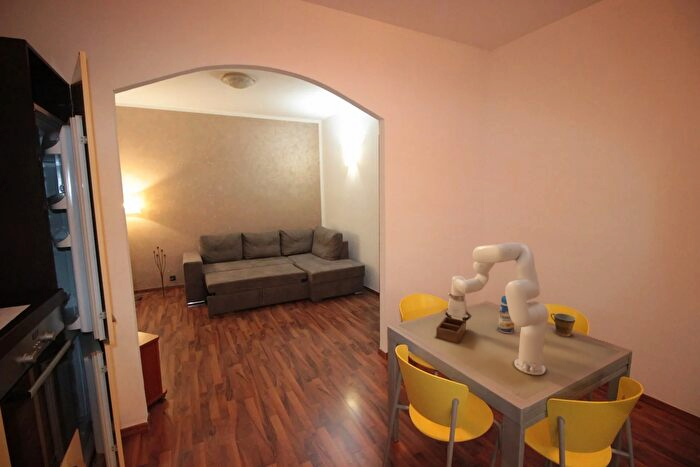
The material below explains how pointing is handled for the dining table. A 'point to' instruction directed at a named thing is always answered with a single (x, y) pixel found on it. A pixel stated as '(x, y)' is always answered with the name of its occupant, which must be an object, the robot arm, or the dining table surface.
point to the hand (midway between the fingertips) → (456, 325)
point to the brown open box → (451, 329)
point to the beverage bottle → (505, 318)
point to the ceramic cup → (563, 323)
